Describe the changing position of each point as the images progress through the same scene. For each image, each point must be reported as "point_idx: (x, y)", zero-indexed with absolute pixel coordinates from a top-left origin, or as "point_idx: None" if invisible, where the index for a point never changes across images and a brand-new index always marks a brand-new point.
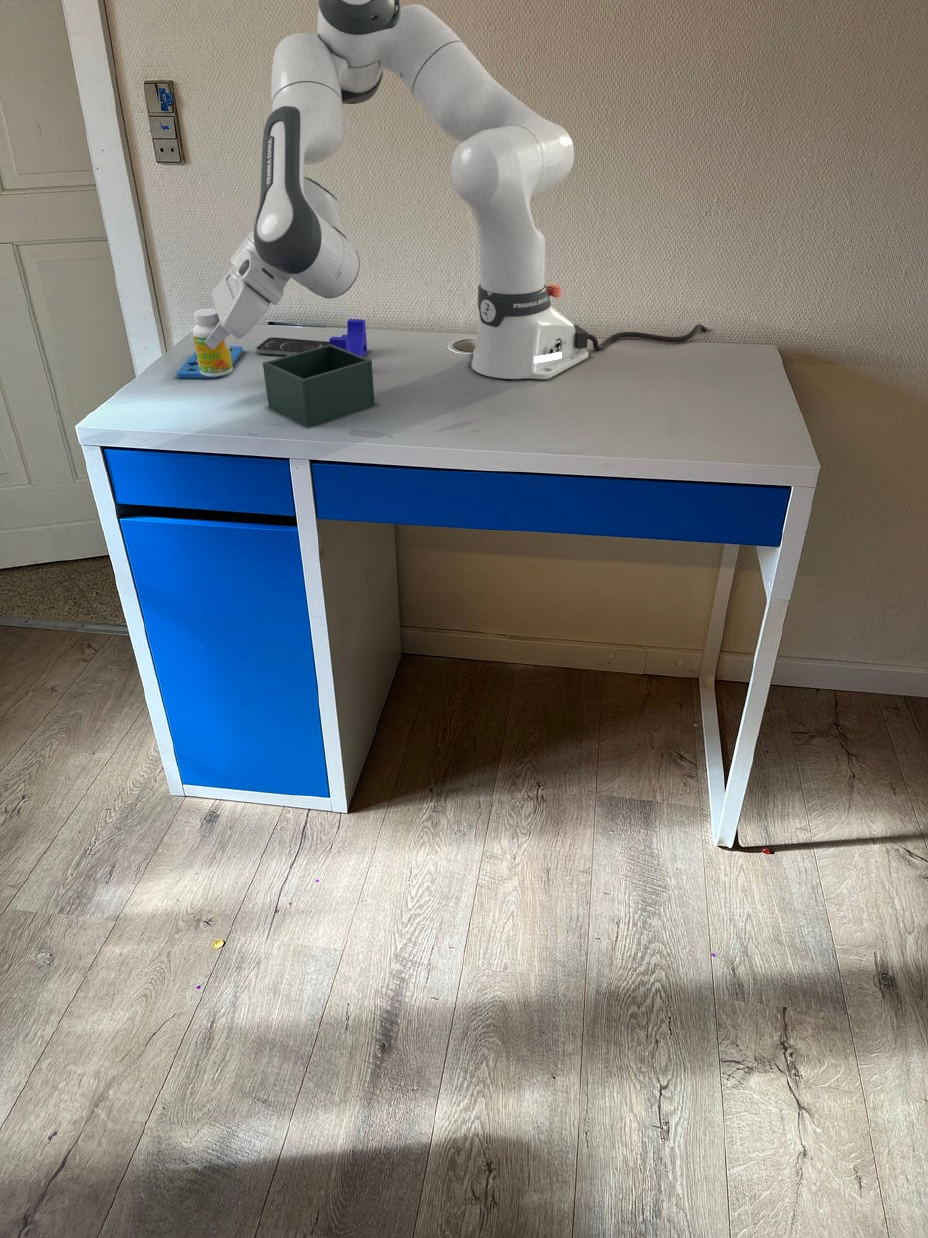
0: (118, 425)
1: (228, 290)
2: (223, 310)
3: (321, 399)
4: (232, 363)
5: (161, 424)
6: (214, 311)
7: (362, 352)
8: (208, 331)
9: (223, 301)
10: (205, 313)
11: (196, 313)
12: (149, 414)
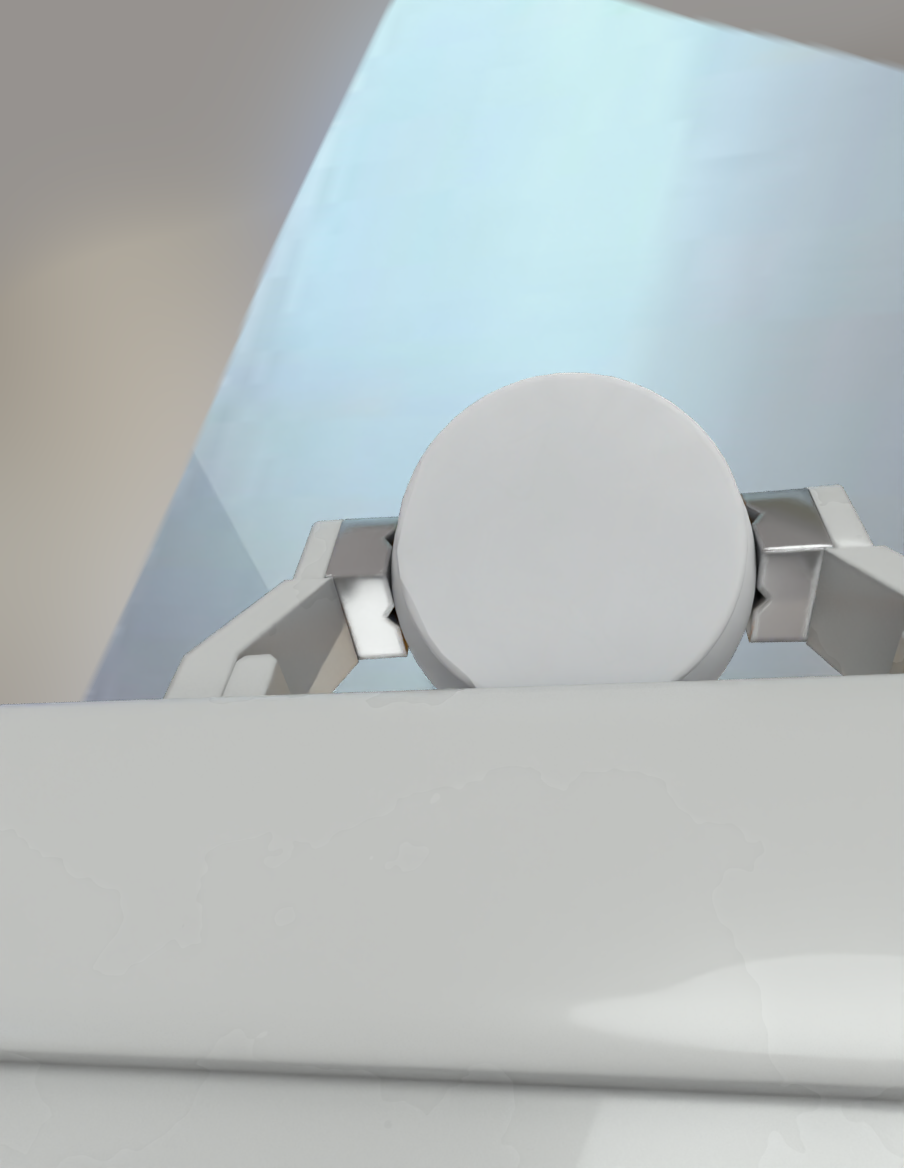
0: (389, 95)
1: (633, 1033)
2: (57, 792)
3: None
4: None
5: (342, 300)
6: (547, 655)
7: None
8: (395, 555)
9: (410, 838)
10: (489, 530)
11: (529, 409)
12: (493, 228)
